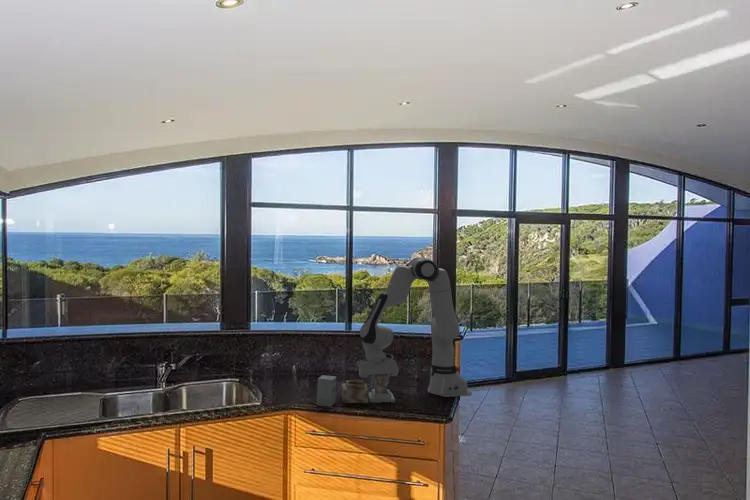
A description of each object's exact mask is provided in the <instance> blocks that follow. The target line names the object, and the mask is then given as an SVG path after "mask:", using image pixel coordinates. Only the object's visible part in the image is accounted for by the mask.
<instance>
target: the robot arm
mask: <svg viewBox="0 0 750 500" xmlns="http://www.w3.org/2000/svg"><path fill="white" fill-rule="evenodd" d="M416 280H424V281H426V282H427V283H428V290H429V299H430V300H429V301H430V307H431V310H432V314H433V317H432V319H431V320H430V324H429V325H430V329H431V330H430V332H431V333H430V334H431V335H430V336H431V343H432V345H431V346H432V356H431V364H430V365H431V366H430V380H429V384H428V388H427V392H428V393H430V394H433V395H435V396H436V395H437V396H441V397H444V398H449V397H454V398H455V397H470V396H472V395H473V392H472V390H471V389H470V388H469V387H468V383H467V380H466V379H465V377H463V376H462V375H461V374H460V373H458V372H460V367H458V366H457V365H455V364H454V363H455V348H454V343H453V340H455V339H457V338H458V337H459V335H460V327H459V323H458V320H457V316H456V312H455V308H454V304H453V296H452V288H451V287H452V286H451V282H450V277H449V274H448V271H447V270H446V269H443V268H440V267H438V266H437V265H436V264H435V262H434V261H433V260H432V259H430V258H427V257H423V256H422V257H415V258H412V259H411V260H410V261H409V262H408V263H406V265H402V264H401V265H398V266H396V267H395V268H394V270H393V272H392V274H391V277H390V279H389V281H388V284H387V286H386V289H385V290H384V291H383V292H382V293H380V294H379V295H378V297H377V298H376V300H375V302H374V304H373V306H372V308H371V310H370V312H369V314H368V315H367V318H366V320H365V322H364V323H363V325H362V326H361V327H360V330H359V337H360V339H361V342H362V348H363V351H364V352H365V359H358V360H357V362H356V366H357V368H358V375H359V378H361V379H368V378H371V381H372V382H374V385H375V386H376V385H378V384H379V382H378V380H376V379H377V376H379V375H385V376H386V377H387V385H389V384H390V377H397V376H398V374H399V372H400V369H399V366H398V364H397V362H396V360H395V359H394V357H395V356H394V355H393V354H390V353H386V352H383V350H384V349H387V348H388V347H389V346H391V345H392V344H393V343H394V339H395V333H394V331H393V329H391V328H390V327H386V326H382V325H378V323H379V322H380V319H381V317H382V315H383V313H384V312H385V310H386V309H387V308H389V307H392V306H398V305H400V304H403V303H404V302H406V300H407V298H408V296H409V293H410V291H411V290H410V289H411V287H412V284H413V282H414V281H416Z"/></svg>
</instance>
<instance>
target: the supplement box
mask: <svg viewBox="0 0 750 500" xmlns="http://www.w3.org/2000/svg"><path fill="white" fill-rule="evenodd" d="M336 394H337V376H334V375H323V374H322V375H320V376H319V377H318V378H317V388H316V406H320V407H329V408H331V407H333V405H334V404H335V403H336Z"/></svg>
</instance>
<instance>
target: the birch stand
mask: <svg viewBox="0 0 750 500" xmlns="http://www.w3.org/2000/svg"><path fill="white" fill-rule="evenodd" d="M369 392H370V390H369V388H368V385H367V383H365V382H364V380H345V383H341V400H342V403H343V404H369V398H368V397H369Z"/></svg>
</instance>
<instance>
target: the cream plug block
mask: <svg viewBox="0 0 750 500" xmlns="http://www.w3.org/2000/svg"><path fill="white" fill-rule="evenodd" d="M375 379H376V380H378V382H379V384H378V385H375V389H376V392H377V393H378V394H387V389H388V384H387V377H386V376H385V375H379V376H377V377H376V378H375Z"/></svg>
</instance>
